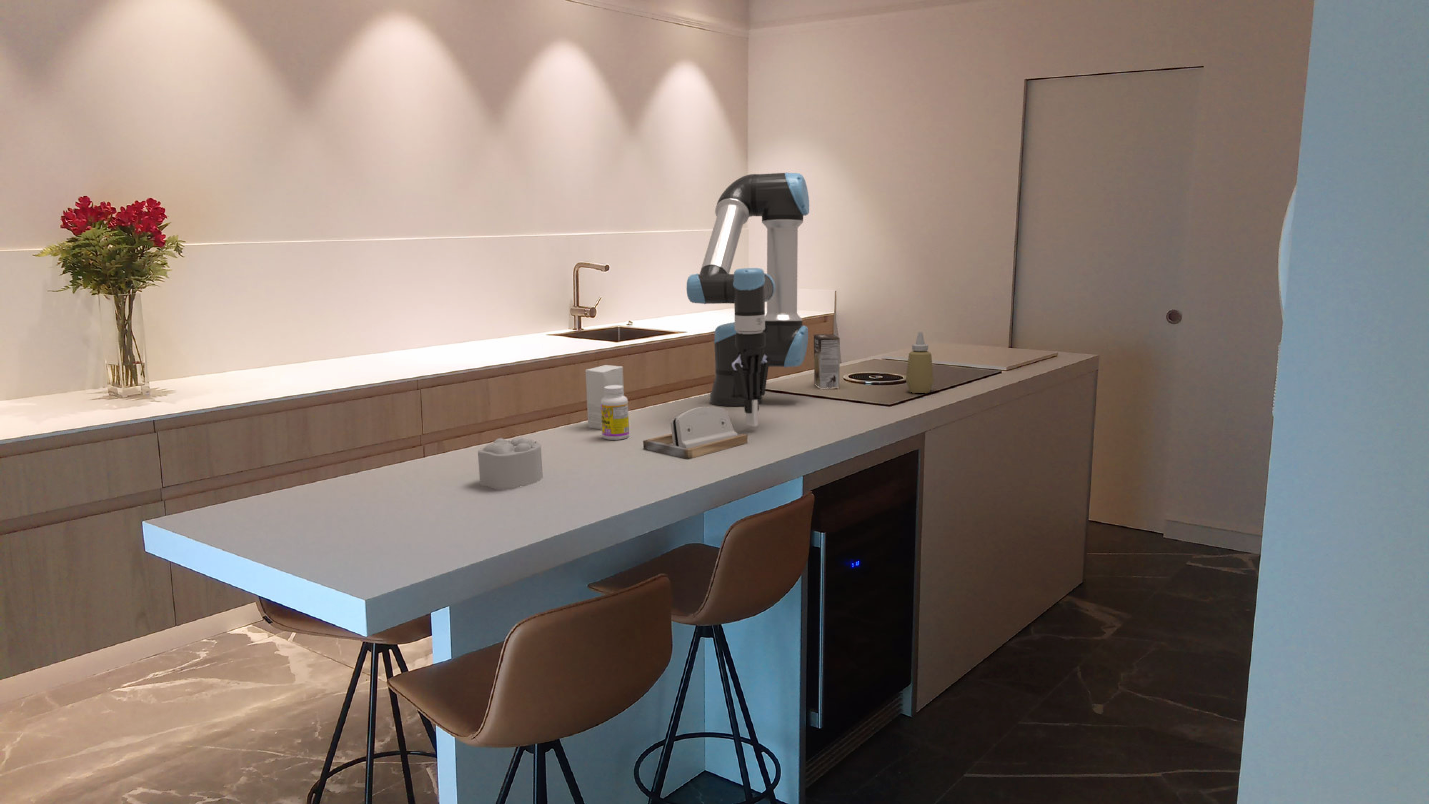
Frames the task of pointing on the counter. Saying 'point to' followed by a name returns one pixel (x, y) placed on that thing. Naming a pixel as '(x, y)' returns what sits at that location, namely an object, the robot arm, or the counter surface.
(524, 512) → the counter surface
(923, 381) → the squeeze bottle
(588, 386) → the skincare box
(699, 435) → the grey piece
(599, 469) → the counter surface
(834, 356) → the coffee box
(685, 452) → the frame
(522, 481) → the lumpy-topped squat cylinder
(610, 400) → the supplement bottle
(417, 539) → the counter surface
